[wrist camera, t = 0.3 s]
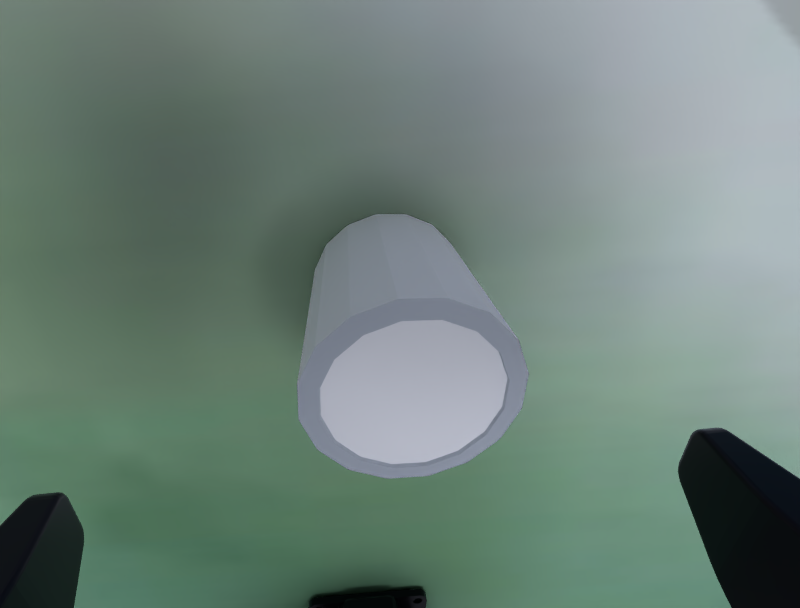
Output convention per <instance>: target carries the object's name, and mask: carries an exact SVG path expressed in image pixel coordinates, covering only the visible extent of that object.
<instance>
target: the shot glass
mask: <svg viewBox="0 0 800 608" xmlns="http://www.w3.org/2000/svg"><path fill="white" fill-rule="evenodd" d="M528 376H529V372H528V369H527V366H526V362H525V359H524V356H523V353H522V349H521V346H520V343H519V340H518V338H517V337H516V335H515V334H514V333H513V331H512V330H511V328H510V327H509V326H508V324H507V323H506V321H505V320H504V318H503V317H502V316H501V314H500V313H499V311H498V310H497V308H496V307H495V306H494V304H493V303H492V301H491V300H490V298H489V297H488V296H487V294H486V293H485V291H484V290H483V288H482V287H481V286H480V284H479V283H478V281H477V280H476V279H475V277H474V276H473V274H472V273H471V271H470V270H469V269H468V267H467V266H466V264H465V263H464V261H463V260H462V259H461V257H460V256H459V254H458V253H457V251H456V250H455V249H454V247H453V246H452V244H451V243H450V242H449V241H448V240H447V239H446V238H445V237H444V236H443V235H442V234H441V233H440V232H439V231H438V230H437V229H436V228H435V227H434V226H433V225H432V224H430V223H427V222H425V221H422V220H420V219H417V218H415V217H412V216H409V215H407V214H375V215H372V216H370V217H367V218H364V219H362V220H359V221H357V222H354V223H351V224H349V225H347V226H346V227H345V228H344V229H343V230H341V231H340V232H339V233H338V234H337V235H336V236H335V237H334V238H333V239H332V240H331V241H329V242H328V243H327V244H326V246H325V248H324V250H323V253H322V255H321V257H320V259H319V261H318V264H317V266H316V268H315V273H314V279H313V286H312V292H311V298H310V305H309V311H308V318H307V324H306V330H305V337H304V343H303V349H302V356H301V362H300V369H299V375H298V381H297V392H298V414H299V421H300V423H301V424H302V426H303V427H304V429H305V431H306V432H307V434H308V435H309V437H310V439H311V440H312V442H313V443H314V445H315V447H316V448H317V450H319V451H320V452H322V453H323V454H325V455H326V456H328V457H330V458H331V459H333V460H334V461H336V462H337V463H339V464H340V465H342V466H343V467H345V468H347V469H348V470H352V471H356V472H361V473H365V474H369V475H374V476H378V477H382V478H387V479H388V478H403V477H418V476H429V475H432V474H435V473H438V472H441V471H444V470H446V469H449V468H452V467H455V466H458V465H461V464H464V463H466V462H468V461H470V460H471V459H472V458H474V457H475V456H477V455H478V454H479V453H481V452H482V451H484V450H485V449H487V448H488V447H489V446H491V445H492V444H494V443H495V442H496V441H498V440H499V439H500V438H501V437H502V435H503V434H504V433H505V431H506V430H507V428H508V427H509V426H510V424H511V423H512V421H513V420H514V419H515V417H516V416H517V414H518V413H519V412H520V410H521V409H522V405H523V400H524V395H525V390H526V386H527V381H528Z"/></svg>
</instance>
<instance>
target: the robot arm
mask: <svg viewBox="0 0 800 608" xmlns="http://www.w3.org/2000/svg"><path fill="white" fill-rule="evenodd" d="M678 474H679V479H680V482H681V485H682V488H683V490H684V493H685V496H686V498H687V501H688V504H689V506H690V509H691V512H692V514H693V517H694V519H695V522H696V525H697V527H698V530H699V533H700V535H701V538H702V541H703V543H704V546H705V549H706V551H707V554H708V557H709V559H710V562H711V564H712V567H713V569H714V571H715V574H716V576H717V578H718V581H719V583H720V585H721V587H722V589H723V591H724V593H725V595H726V597H727V599H728V601H729V603H730V605H731V607H732V608H800V479H799V478H798V477H796V476H795V475H793V474H792V473H790V472H789V471H787V470H786V469H784V468H783V467H781V466H780V465H778V464H777V463H775V462H774V461H772V460H771V459H769V458H768V457H766V456H765V455H763V454H762V453H760V452H759V451H757V450H756V449H754V448H753V447H751V446H750V445H748V444H747V443H745V442H744V441H742V440H741V439H739V438H738V437H736V436H735V435H733V434H732V433H730V432H729V431H727V430H725V429H723V428H708V429H699V430H696V431H694V432H693V433H692V435H691V436H690V439H689V441H688V443H687V446H686V448H685V450H684V453H683V455H682V457H681V460H680V462H679V466H678ZM83 546H84V532H83V528H82V525H81V523H80V521H79V519H78V517H77V515H76V513H75V511H74V509H73V507H72V505H71V503H70V501H69V499H68V497H67V496H66V495H65V494H63V493H60V492H57V493H47V494H37V495H33V496H31V497H29V498H27V499H26V500H25V501H24V502H23V503H22V504H21V505H20V506H19V507H18V508H17V509H16V510H15V511H14V512H13V513H12V514H11V515H10V516H9V517H8V518H7V519H6V520H5V521H4V522H3V523H2V524H1V525H0V608H74V603H75V597H76V590H77V584H78V578H79V571H80V565H81V559H82V552H83ZM426 601H427V600H426V594H425V591H424V590H422V589H412V590H400V591H388V592H376V593H364V594H352V595H340V596H328V597H318V598H314V599H312V600H311V601H310V602H309V608H426Z"/></svg>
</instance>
